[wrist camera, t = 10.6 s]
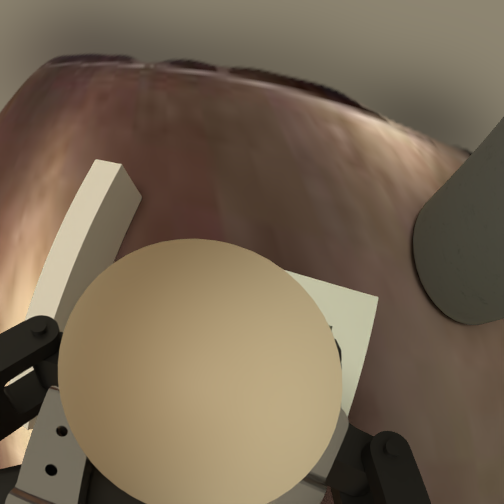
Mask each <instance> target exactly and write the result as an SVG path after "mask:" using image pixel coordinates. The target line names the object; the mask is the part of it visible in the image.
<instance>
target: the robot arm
mask: <svg viewBox="0 0 504 504" xmlns="http://www.w3.org/2000/svg"><path fill="white" fill-rule="evenodd" d="M62 336H63V332H60V330H59V326H58V323H57V322H56V321H55V320H54V319H53V318H51V317H49V316H45V315H38V316H34V317H31V318H29V319H27V320H25V321H24V322H22V323H20V324H18V325H16V326H14V327H12V328H10V329H9V330H7V331H5V332H3V333H1V334H0V441H1V440H2V439H4V438H5V437H7V436H8V435H10V434H11V433H13V432H14V431H16V430H17V429H19V428H20V427H21V426H23V425H24V424H26V423H27V422H29V421H30V420H32V419H33V418H35V417H36V416H38V417H37V420H36V422H35V425H34V428H33V431H32V434H31V437H30V440H29V443H28V446H27V449H26V452H25V455H24V459H23V462H22V464H21V465H17V466H12V467H8V468H4V469H0V504H146V503H144V502H142V501H140V500H138V499H136V498H134V497H132V496H131V495H129V494H127V493H126V492H124V491H123V490H121V489H120V488H118V487H117V486H116V485H115V484H113V483H112V482H111V481H110V480H109V479H107V478H106V477H105V476H104V475H103V474H102V473H101V472H100V471H99V470H98V469H97V468H96V467H95V466H94V465H93V463H92V462H91V461H90V460H89V458H88V457H87V456H86V454H85V453H84V452H83V450H82V449H81V447H80V446H79V444H78V442H77V440H76V439H75V437H74V435H73V433H72V431H71V429H70V426H69V424H68V421H67V419H66V416H65V413H64V410H63V406H62V402H61V398H60V391H59V384H58V358H59V350H60V344H61V340H62ZM334 340H335V343H336V346H337V349H338V352H339V357H340V363H341V361H342V355H341V348H340V346H339V344H338V342H337V340H336V339H334ZM31 367H33V369H34V370H33V371H31V372H29V373H28V374H26V375H24V376H23V377H21V378H20V379H18V380H16V381H15V382H13V383H12V384H10V385H8V386H6V387H4V386H5V384H6V383H7V382H8V381H10V380H11V379H13V378H15V377H16V376H18V375H20V374H21V373H23V372H24V371H26V370H28V369H29V368H31ZM341 369H342V363H341ZM327 485H328V486H330V487H331V492H332V496H333V500H334V504H431V502H430V499H429V496H428V494H427V491H426V488H425V485H424V483H423V480H422V477H421V474H420V472H419V469H418V467H417V464H416V461H415V459H414V456H413V454H412V451H411V449H410V446H409V444H408V442H407V441H406V440H405V439H404V438H403V437H402V436H401V435H399V434H398V433H395V432H392V431H383V432H380V433H378V434H377V435H375V436H372V435H369V434H367V433H365V432H363V431H361V430H359V429H357V428H355V427H354V426H352V425H351V424H350V423H349V421H348V417H347V415H346V413H345V412H344V410H343V409H342V408H340V413H339V417H338V421H337V424H336V428H335V430H334V433H333V435H332V437H331V440H330V442H329V444H328V446H327V448H326V450H325V451H324V453H323V454H322V456H321V458H320V459H319V461H318V462H317V463H316V465H315V466H314V467H313V468H312V469H311V471H310V472H309V473H308V474H307V475H306V476H305V477H304V478H303V479H302V480H301V481H300V482H299V483H298V484H296V485H295V486H294V487H293V488H292V489H290V490H289V491H287V492H286V493H284V494H283V495H281V496H280V497H278V498H277V499H275V500H273V501H271V502H269V503H267V504H320V503H321V501H322V499H323V497H324V495H325V492H326V489H327Z"/></svg>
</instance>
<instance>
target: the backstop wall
mask: <svg viewBox="0 0 504 504" xmlns="http://www.w3.org/2000/svg"><path fill="white" fill-rule="evenodd" d="M141 199H142V196H141V195H140V193H139V191H138V190H137V188H136V187H135V185H134V183H133V182H132V180H131V179H130V177H129V175H128V174H127V172H126V171H125V169H124V167H123V166H122V164H117V163H112V162H107V161H102V160H97V159H96V160H95V162H94V163H93V165H92V167H91V169H90V170H89V172H88V174H87V176H86V177H85V179H84V181H83V183H82V185H81V187H80V189H79V190H78V192H77V194H76V196H75V198H74V200H73V202H72V204H71V206H70V208H69V210H68V212H67V214H66V216H65V218H64V220H63V223H62V225H61V227H60V229H59V231H58V233H57V236H56V238H55V240H54V242H53V245H52V247H51V250H50V252H49V254H48V257H47V259H46V262H45V264H44V267H43V269H42V272H41V275H40V277H39V280H38V283H37V285H36V288H35V291H34V294H33V297H32V300H31V303H30V306H29V309H28V312H27V315H26V319H25V320H27V319H29V318H31V317H34V316H38V315H45V316H49V317H51V318H53V319H54V320H55V321H56V322H57V323H58V326H59V330H60V332H64V329H65V326H66V324H67V321H68V319H69V316H70V314H71V312H72V310H73V308H74V307H75V305H76V303H77V301H78V300H79V298H80V297H81V295H82V294H83V293H84V291H85V290H86V289H87V287H88V286H89V285H90V284H91V283H92V282H93V281H94V280H95V279H96V278H97V276H98V275H99V274H101V273H102V272H103V271H104V270H106V269H107V268H108V267H109V266H110V265H112V264H113V262H114V260H115V258H116V255H117V253H118V250H119V248H120V246H121V243H122V241H123V239H124V236H125V234H126V232H127V229H128V227H129V225H130V223H131V221H132V218H133V216H134V214H135V212H136V210H137V208H138V206H139V203H140V201H141ZM33 370H34V369H33V367H31V368H29V369H28V370H26V371H24V372H23V373H21V374H20V375H18V376H16V377H15V378H13V379H11V380H10V383H9V385H10V384H12V383H13V382H15V381H16V380H18V379H20V378H21V377H23V376H24V375H26V374H28V373H29V372H31V371H33ZM37 417H38V416H36V417H35V418H33V419H32V420H30V421H29V422H27V423H26V424H24V425H23V427H25V428H26V429H27V430H29V429H33V428H34V425H35V422H36V420H37Z"/></svg>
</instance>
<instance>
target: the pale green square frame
mask: <svg viewBox="0 0 504 504" xmlns="http://www.w3.org/2000/svg"><path fill="white" fill-rule="evenodd" d="M284 271H286V270H284ZM286 272H287V273H288V274H289V275H290V276H291V277H293V278H294V279H295V280H296V281H297V282H298V283H299V284H300V285H301V286H302V287H303V288H304V289H305V290H306V292H307V293H308V294H309V295H310V296H311V297H312V299H313V300H314V301H315V303H316V304H317V306H318V307H319V309H320V310H321V312H322V313H323V315H324V317H325V319H326V321H327V323H328V325H329V327H330V329H331V331H332V333H333V336H334V339H336V340H337V342H338V344H339V346H340V348H341V355H342V361H341V363H342V400H341V408H342V409H343V410H344V412H345V413H346V415H347V417H348V414H349V411H350V407H351V404H352V401H353V398H354V395H355V391H356V388H357V384H358V381H359V377H360V374H361V370H362V367H363V363H364V359H365V355H366V351H367V347H368V343H369V339H370V335H371V331H372V326H373V322H374V317H375V312H376V308H377V303H378V298H379V297H376V296H372V295H369V294H365V293H362V292H358V291H355V290H351V289H348V288H344V287H341V286H337V285H334V284H330V283H327V282H324V281H320V280H317V279H313V278H310V277H306V276H303V275H300V274H296V273H293V272H289V271H286Z"/></svg>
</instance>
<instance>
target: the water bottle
mask: <svg viewBox="0 0 504 504" xmlns="http://www.w3.org/2000/svg"><path fill="white" fill-rule="evenodd" d="M413 250H414V258H415V264H416V269H417V271H418V274H419V277H420V280H421V283H422V284H423V286H424V288H425V290H426V292H427V294H428V295H429V297H430V298H431V300H432V301H433V302H434V304H435V305H436V306H437V307H438V308H439V309H440V310H441V311H442V312H443V313H444V314H445V315H447V316H449V317H450V318H452V319H453V320H455V321H458V322H461V323H464V324H469V325H479V324H484V323H488V322H492V321H496V320H500V319H503V318H504V117H503V118H502V119H501V121H500V122H499V123H498V124H497V126H496V127H495V128H494V129H493V130H492V132H491V133H490V134H489V135H488V136H487V137H486V139H485V140H484V141H483V142H482V143H481V144H480V146H479V147H478V148H477V149H476V150H475V151H474V152H473V153H472V155H471V156H470V157H469V158H468V159H467V160H466V161H465V162H464V163H463V165H462V166H461V167H460V168H459V169H458V170H457V171H456V172H455V173H454V174H453V175H452V176H451V178H450V179H449V180H448V181H447V182H446V183H445V184H444V185H443V186H442V187H441V188H440V189H439V190H438V191H437V192H436V193H435V194H434V195H433V196H432V197H431V198H430V199H429V200H428V201H427V202H426V203H425V205H424V206H423V208H422V210H421V211H420V213H419V215H418V218H417V221H416V224H415V228H414V236H413Z"/></svg>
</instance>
